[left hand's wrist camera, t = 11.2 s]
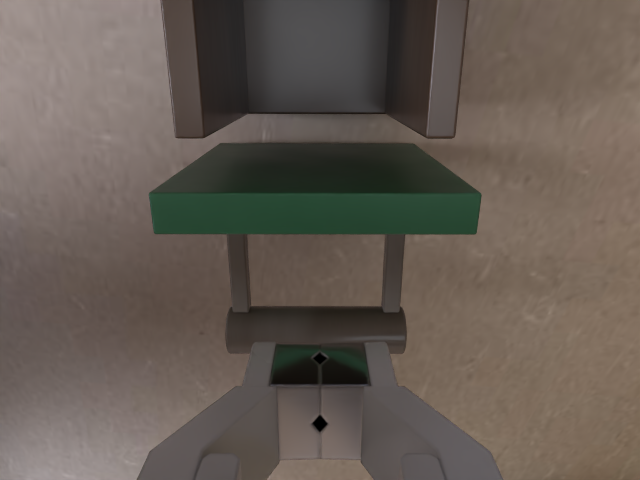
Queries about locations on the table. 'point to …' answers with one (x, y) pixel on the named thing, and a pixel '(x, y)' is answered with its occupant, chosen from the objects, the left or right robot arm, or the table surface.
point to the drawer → (315, 158)
